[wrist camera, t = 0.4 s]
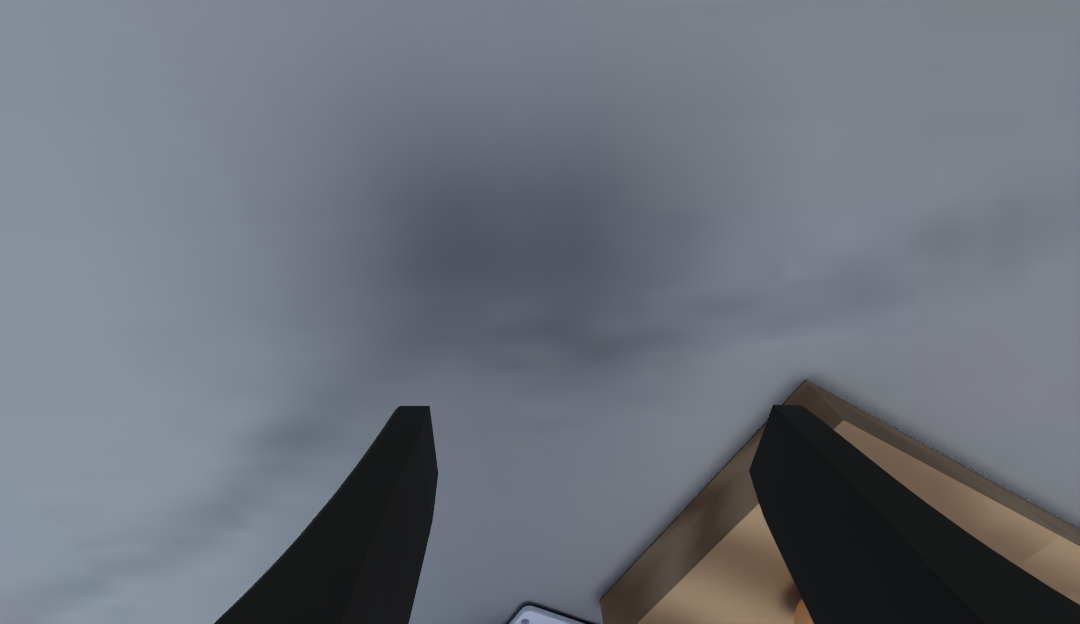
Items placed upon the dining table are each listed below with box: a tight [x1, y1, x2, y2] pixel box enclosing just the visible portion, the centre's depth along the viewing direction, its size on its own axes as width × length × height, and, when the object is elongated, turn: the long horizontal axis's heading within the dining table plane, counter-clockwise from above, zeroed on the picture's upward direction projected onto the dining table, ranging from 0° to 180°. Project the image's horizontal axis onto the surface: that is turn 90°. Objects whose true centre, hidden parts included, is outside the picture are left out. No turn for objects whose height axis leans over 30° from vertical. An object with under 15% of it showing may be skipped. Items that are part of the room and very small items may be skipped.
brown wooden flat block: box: [600, 380, 1080, 624], centre depth 28 cm, size 18×22×3 cm
